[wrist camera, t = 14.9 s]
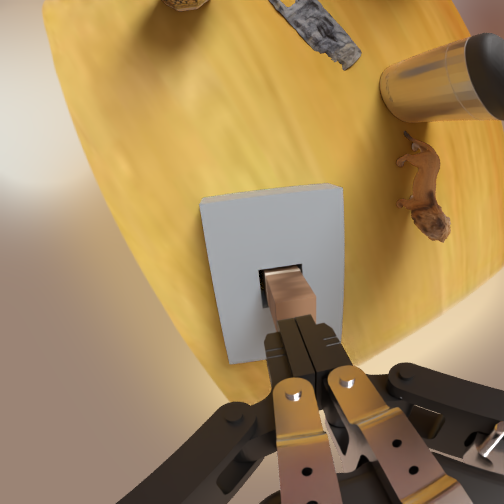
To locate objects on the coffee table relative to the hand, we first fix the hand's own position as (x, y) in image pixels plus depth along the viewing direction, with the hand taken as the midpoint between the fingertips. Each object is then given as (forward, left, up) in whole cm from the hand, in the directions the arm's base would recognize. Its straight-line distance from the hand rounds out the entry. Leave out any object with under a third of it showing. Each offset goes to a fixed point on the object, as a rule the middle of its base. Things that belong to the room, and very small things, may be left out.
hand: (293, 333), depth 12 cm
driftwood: (-11, -28, -26) cm, 40 cm away
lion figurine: (-24, -2, -25) cm, 35 cm away
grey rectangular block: (-3, +8, -25) cm, 26 cm away
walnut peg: (-3, +8, -25) cm, 26 cm away
